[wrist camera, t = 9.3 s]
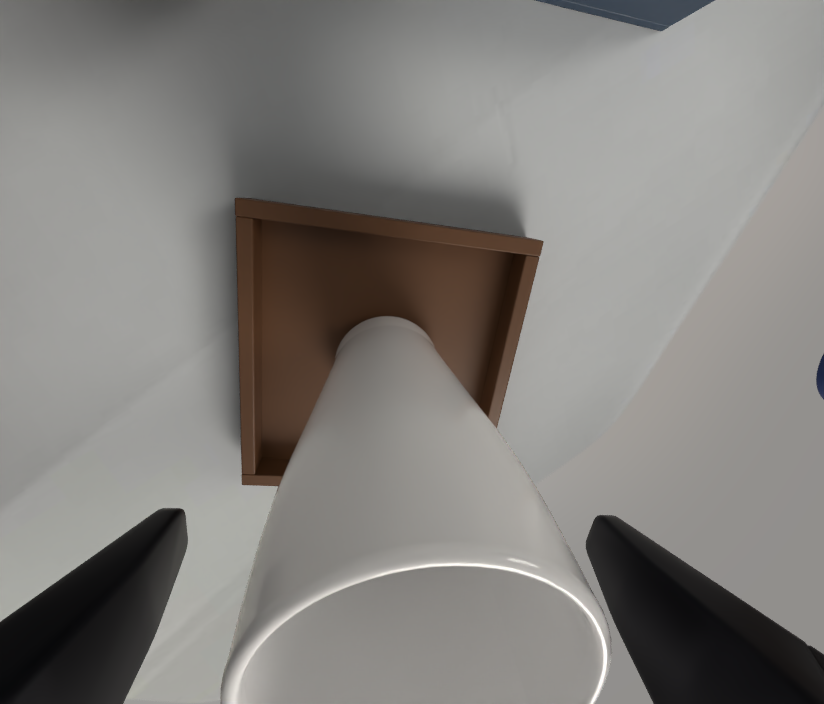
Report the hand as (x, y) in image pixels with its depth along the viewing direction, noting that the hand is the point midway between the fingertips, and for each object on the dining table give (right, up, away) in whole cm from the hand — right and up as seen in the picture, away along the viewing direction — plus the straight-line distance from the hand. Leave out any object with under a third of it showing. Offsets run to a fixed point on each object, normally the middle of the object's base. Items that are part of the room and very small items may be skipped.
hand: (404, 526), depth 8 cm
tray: (-2, +3, +12) cm, 13 cm away
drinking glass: (-1, +3, +12) cm, 13 cm away
